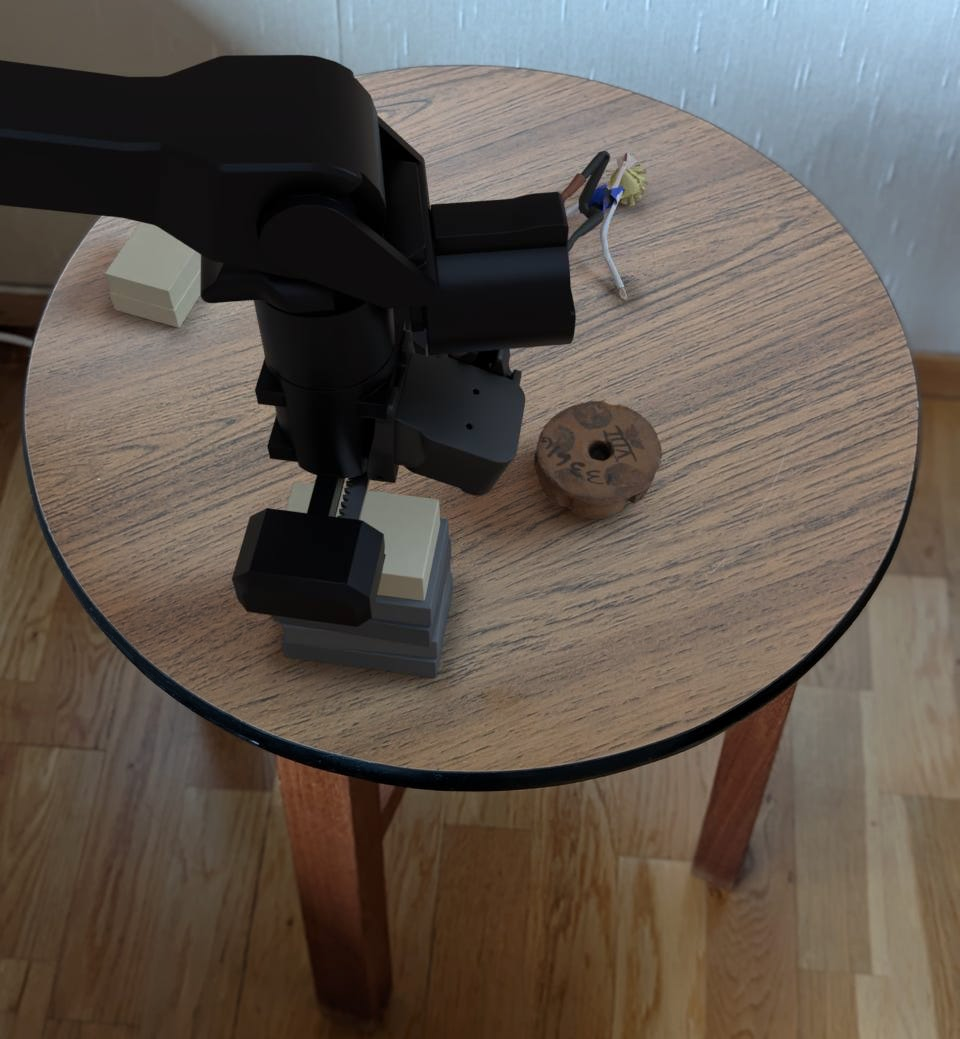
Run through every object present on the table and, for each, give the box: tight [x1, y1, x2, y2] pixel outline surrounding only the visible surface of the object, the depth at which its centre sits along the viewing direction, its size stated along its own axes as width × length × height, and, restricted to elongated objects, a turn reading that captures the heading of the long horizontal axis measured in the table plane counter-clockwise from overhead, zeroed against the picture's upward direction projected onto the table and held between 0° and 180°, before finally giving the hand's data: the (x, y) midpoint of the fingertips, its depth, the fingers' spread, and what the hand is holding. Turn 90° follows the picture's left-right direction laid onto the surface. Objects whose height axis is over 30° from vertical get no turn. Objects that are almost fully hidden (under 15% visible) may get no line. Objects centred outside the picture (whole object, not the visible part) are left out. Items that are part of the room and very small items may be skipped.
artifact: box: [533, 400, 663, 521], centre depth 82 cm, size 8×8×5 cm
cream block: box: [285, 480, 441, 601], centre depth 71 cm, size 8×5×2 cm, turn 81°
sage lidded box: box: [104, 222, 201, 329], centre depth 92 cm, size 7×5×4 cm
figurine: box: [559, 150, 673, 301], centre depth 93 cm, size 10×9×20 cm
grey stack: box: [271, 517, 454, 679], centre depth 76 cm, size 9×6×8 cm
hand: (355, 533), depth 71 cm, fingers open, 9 cm apart
